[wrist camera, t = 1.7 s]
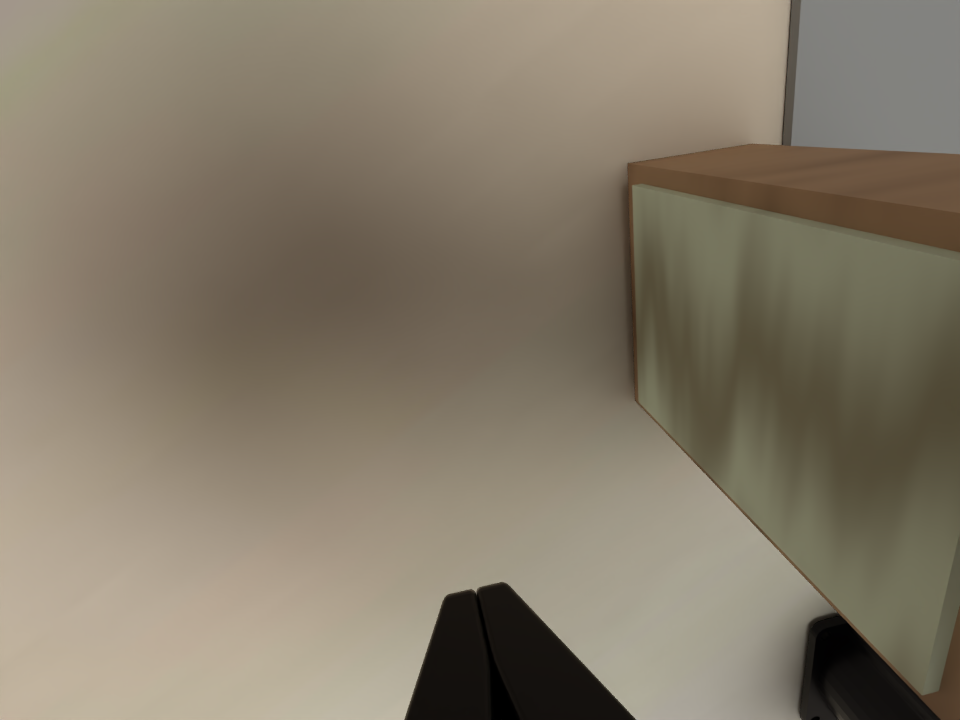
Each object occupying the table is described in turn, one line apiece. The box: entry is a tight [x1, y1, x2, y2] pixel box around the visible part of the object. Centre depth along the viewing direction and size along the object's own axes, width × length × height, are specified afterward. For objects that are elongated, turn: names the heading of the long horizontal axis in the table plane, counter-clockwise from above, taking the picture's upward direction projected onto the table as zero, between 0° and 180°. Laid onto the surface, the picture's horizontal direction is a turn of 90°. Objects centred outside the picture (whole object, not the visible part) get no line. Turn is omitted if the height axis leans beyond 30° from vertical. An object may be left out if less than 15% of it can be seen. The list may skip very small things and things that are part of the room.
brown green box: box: [628, 144, 960, 720], centre depth 13 cm, size 8×4×13 cm, turn 8°
